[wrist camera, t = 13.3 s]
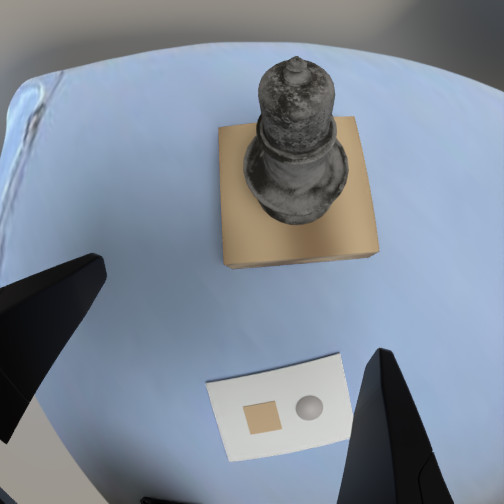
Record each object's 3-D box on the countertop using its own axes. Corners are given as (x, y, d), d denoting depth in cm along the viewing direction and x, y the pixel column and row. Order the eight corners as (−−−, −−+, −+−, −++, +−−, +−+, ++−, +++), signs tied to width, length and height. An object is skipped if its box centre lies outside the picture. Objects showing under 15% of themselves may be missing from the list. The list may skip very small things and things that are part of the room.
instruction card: (230, 460, 20) (229, 462, 20) (206, 382, 22) (205, 383, 21) (356, 434, 20) (356, 436, 19) (339, 353, 21) (340, 353, 21)
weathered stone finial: (356, 179, 20) (413, 55, 8) (305, 248, 19) (325, 171, 8) (285, 132, 21) (275, -7, 9) (233, 195, 20) (168, 80, 9)
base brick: (232, 269, 23) (223, 264, 20) (226, 146, 24) (218, 127, 21) (368, 257, 22) (379, 251, 19) (348, 135, 23) (354, 116, 20)
